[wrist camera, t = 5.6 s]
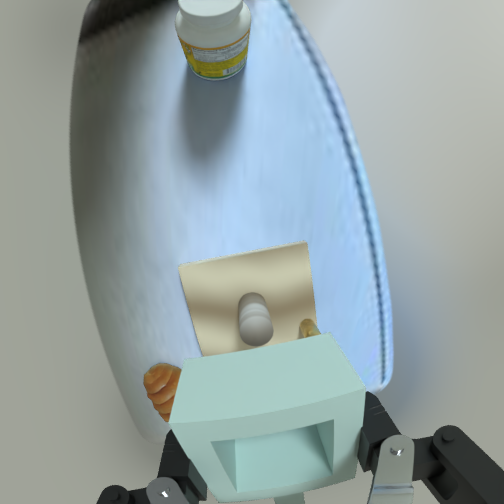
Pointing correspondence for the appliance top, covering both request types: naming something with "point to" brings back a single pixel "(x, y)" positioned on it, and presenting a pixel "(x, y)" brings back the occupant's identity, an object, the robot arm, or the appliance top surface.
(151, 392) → the pastry
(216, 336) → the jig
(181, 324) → the appliance top surface
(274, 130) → the appliance top surface
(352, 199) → the appliance top surface
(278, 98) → the appliance top surface
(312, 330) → the pin
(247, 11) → the supplement bottle
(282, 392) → the pale green hollow block
